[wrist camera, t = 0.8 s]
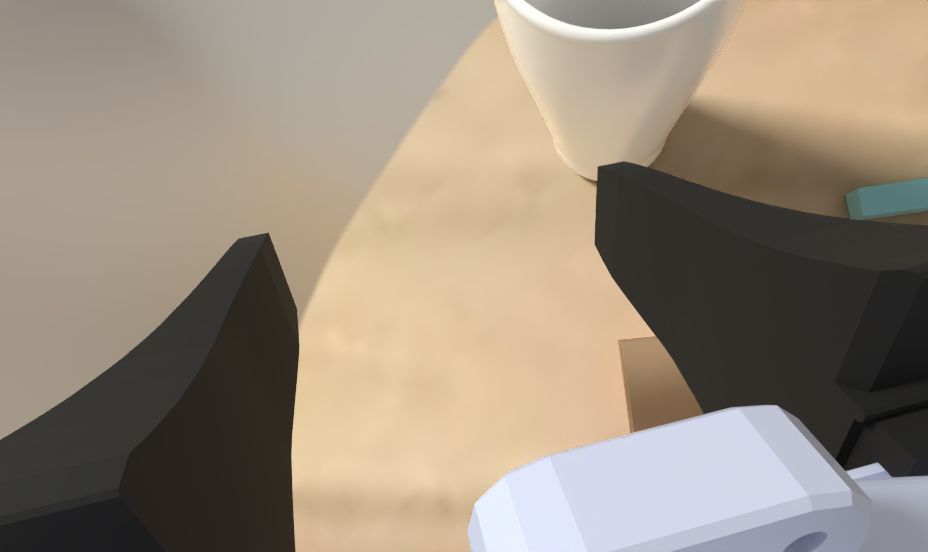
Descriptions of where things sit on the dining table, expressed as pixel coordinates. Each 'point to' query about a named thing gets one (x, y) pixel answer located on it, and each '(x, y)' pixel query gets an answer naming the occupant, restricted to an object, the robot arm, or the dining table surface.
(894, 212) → the frame
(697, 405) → the walnut block
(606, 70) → the white cup
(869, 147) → the dining table surface
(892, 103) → the dining table surface
